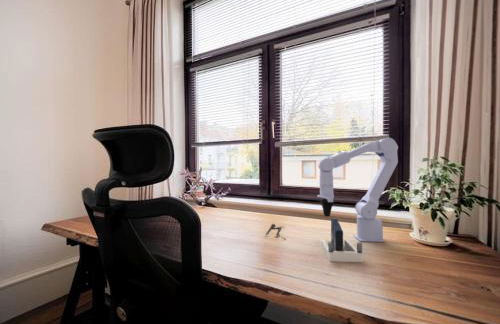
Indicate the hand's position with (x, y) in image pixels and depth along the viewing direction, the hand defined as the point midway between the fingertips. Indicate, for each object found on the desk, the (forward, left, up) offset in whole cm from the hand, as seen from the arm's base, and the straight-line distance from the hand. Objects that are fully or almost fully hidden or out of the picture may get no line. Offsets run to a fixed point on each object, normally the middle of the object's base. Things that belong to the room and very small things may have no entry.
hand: (327, 216), depth 102 cm
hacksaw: (+22, -7, -10) cm, 25 cm away
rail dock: (0, +18, -9) cm, 20 cm away
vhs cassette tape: (0, +16, -10) cm, 19 cm away
